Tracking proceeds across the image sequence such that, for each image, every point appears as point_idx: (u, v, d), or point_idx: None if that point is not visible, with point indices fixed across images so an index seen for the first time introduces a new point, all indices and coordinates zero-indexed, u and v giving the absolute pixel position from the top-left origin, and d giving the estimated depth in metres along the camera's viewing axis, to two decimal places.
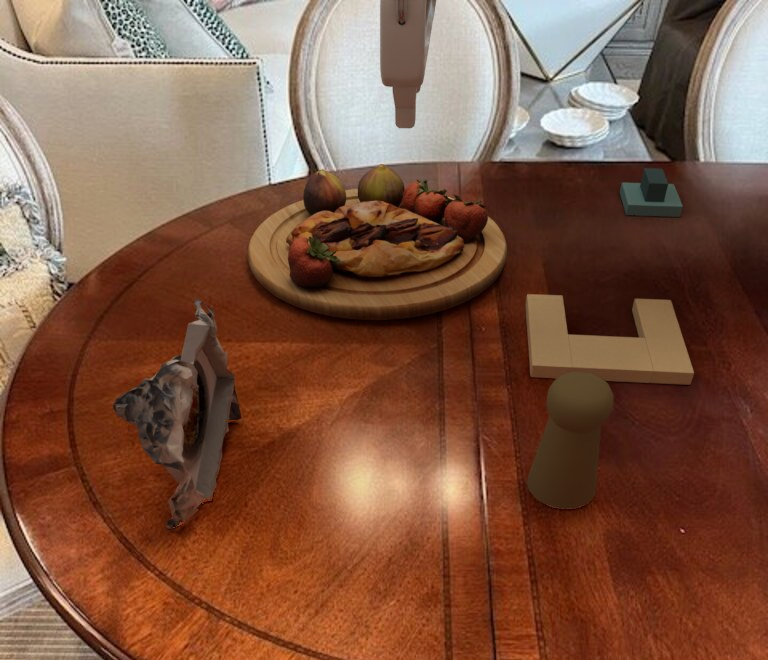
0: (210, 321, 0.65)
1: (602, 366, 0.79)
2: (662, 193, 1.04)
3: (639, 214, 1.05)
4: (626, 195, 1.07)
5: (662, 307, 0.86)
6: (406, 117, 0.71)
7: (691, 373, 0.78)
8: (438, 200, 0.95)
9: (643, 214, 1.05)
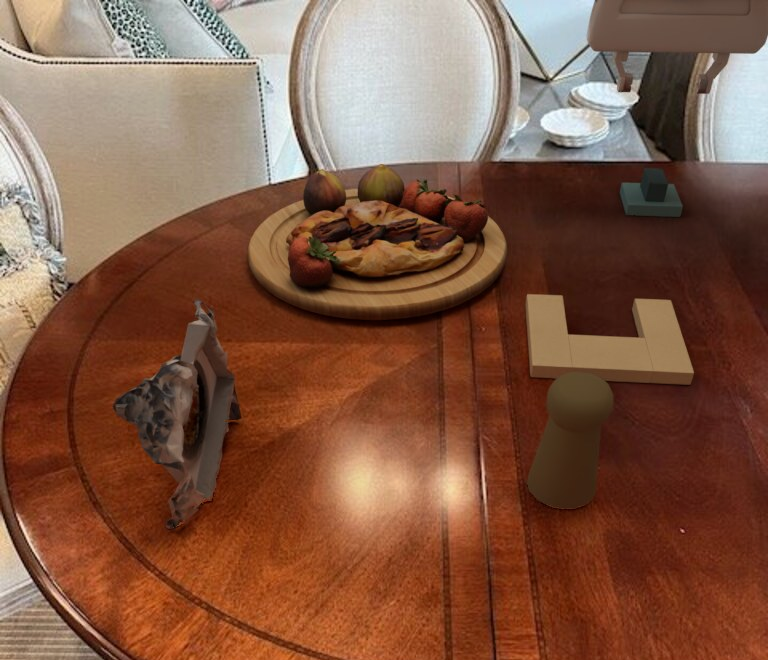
0: (210, 321, 0.65)
1: (602, 366, 0.79)
2: (662, 193, 1.04)
3: (639, 214, 1.05)
4: (626, 195, 1.07)
5: (662, 307, 0.86)
6: (619, 82, 0.96)
7: (691, 373, 0.78)
8: (438, 200, 0.95)
9: (643, 214, 1.05)
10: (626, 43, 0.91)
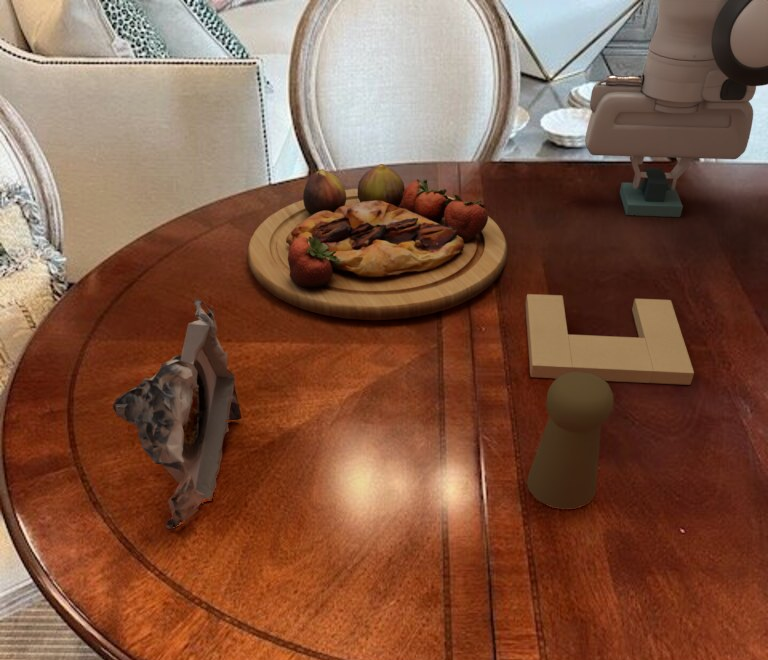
0: (210, 321, 0.65)
1: (602, 366, 0.79)
2: (662, 193, 1.04)
3: (639, 214, 1.05)
4: (626, 195, 1.07)
5: (662, 307, 0.86)
6: (634, 180, 1.06)
7: (691, 373, 0.78)
8: (438, 200, 0.95)
9: (643, 214, 1.05)
10: (620, 149, 1.01)
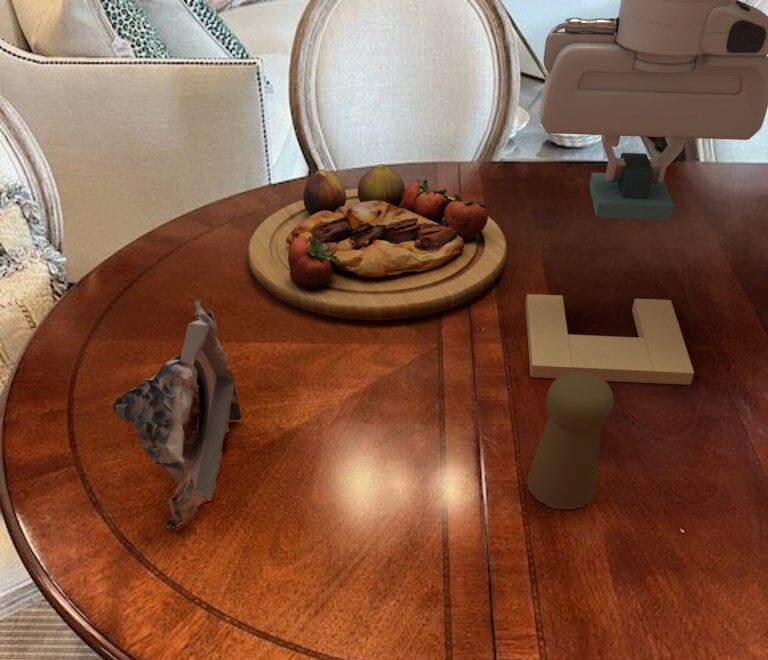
0: (210, 321, 0.65)
1: (602, 366, 0.79)
2: (645, 187, 0.76)
3: (614, 216, 0.77)
4: (597, 190, 0.78)
5: (662, 307, 0.86)
6: (608, 170, 0.77)
7: (691, 373, 0.78)
8: (438, 200, 0.95)
9: (619, 216, 0.77)
10: (587, 125, 0.73)
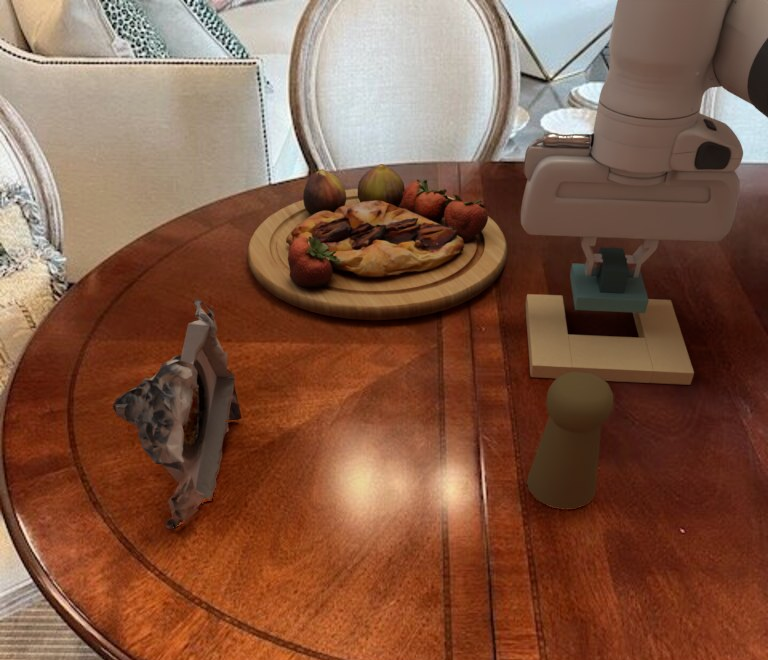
0: (210, 321, 0.65)
1: (602, 366, 0.79)
2: (621, 283, 0.80)
3: (592, 309, 0.81)
4: (576, 283, 0.82)
5: (662, 307, 0.86)
6: (586, 265, 0.81)
7: (691, 373, 0.78)
8: (438, 200, 0.95)
9: (597, 309, 0.81)
10: (565, 228, 0.77)
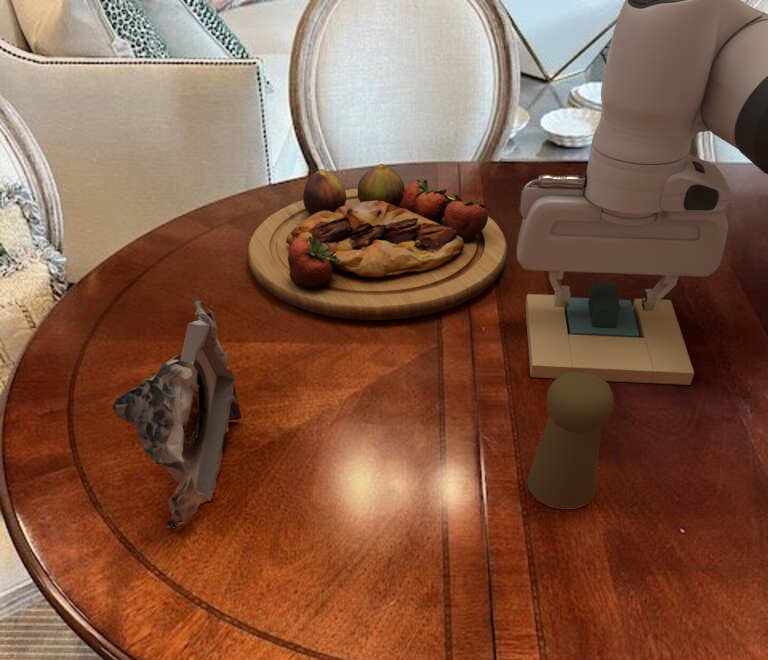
0: (210, 321, 0.65)
1: (602, 366, 0.79)
2: (613, 318, 0.83)
3: None
4: (569, 317, 0.85)
5: (662, 307, 0.86)
6: (555, 296, 0.84)
7: (691, 373, 0.78)
8: (438, 200, 0.95)
9: None
10: (560, 264, 0.80)
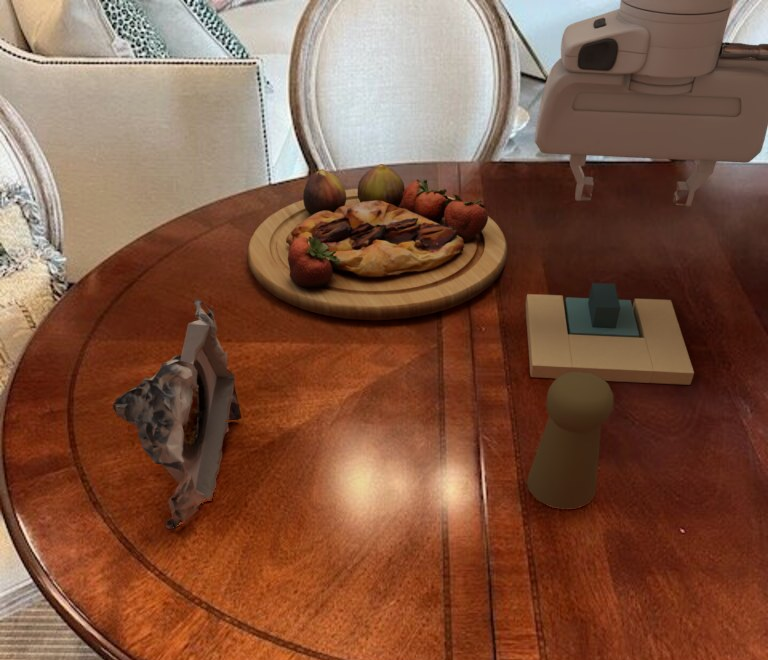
0: (210, 321, 0.65)
1: (602, 366, 0.79)
2: (613, 318, 0.83)
3: None
4: (569, 317, 0.85)
5: (662, 307, 0.86)
6: None
7: (691, 373, 0.78)
8: (438, 200, 0.95)
9: None
10: None
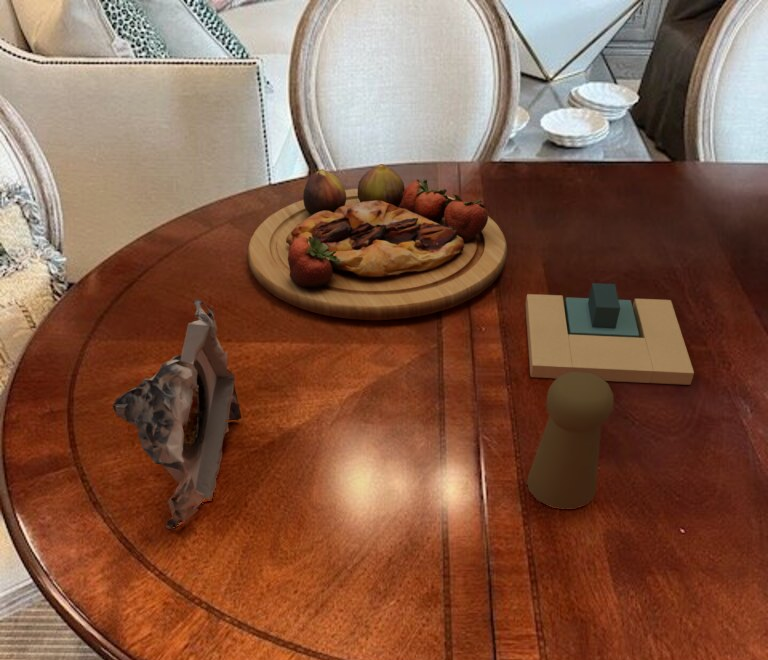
0: (210, 321, 0.65)
1: (602, 366, 0.79)
2: (613, 318, 0.83)
3: None
4: (569, 317, 0.85)
5: (662, 307, 0.86)
6: None
7: (691, 373, 0.78)
8: (438, 200, 0.95)
9: None
10: None
